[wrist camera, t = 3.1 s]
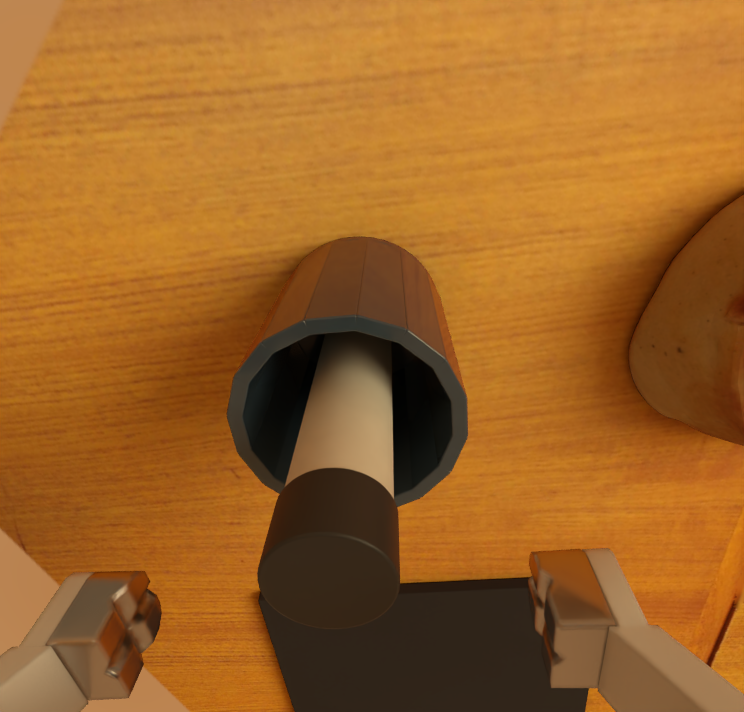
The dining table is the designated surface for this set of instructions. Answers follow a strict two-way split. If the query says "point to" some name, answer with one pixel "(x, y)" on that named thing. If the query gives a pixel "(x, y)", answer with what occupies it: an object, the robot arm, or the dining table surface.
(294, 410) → the pen cup
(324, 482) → the marker
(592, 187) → the dining table surface
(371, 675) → the mat
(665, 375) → the pastry
